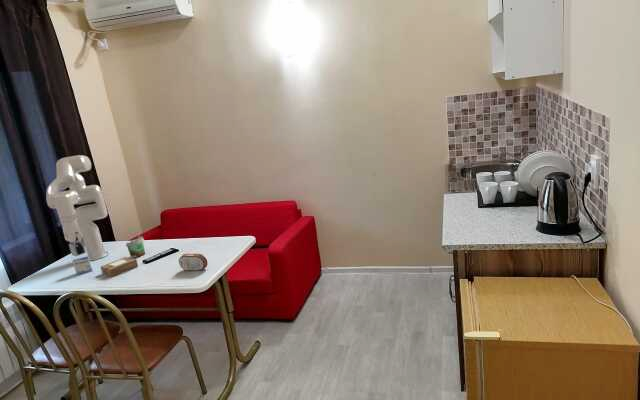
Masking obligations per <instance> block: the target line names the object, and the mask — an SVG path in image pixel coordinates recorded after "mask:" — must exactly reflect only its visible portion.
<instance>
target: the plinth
mask: <svg viewBox="0 0 640 400" xmlns="http://www.w3.org/2000/svg"><path fill="white" fill-rule="evenodd" d="M138 267H139V264H138V261H137V258H135V259H132V258H131V257H127V256H125V257H122V258H120V259H117V260H114V261H111V262H110V263H107V264H104V265H102V266H100V271H101V273H102V275H106V276H107V277H112V278H114V277H117V276H119V275H121V274H123V273H127V272H130V271H131V270H134V269H136V268H138Z"/></svg>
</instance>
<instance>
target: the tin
mask: <svg viewBox="0 0 640 400" xmlns="http://www.w3.org/2000/svg"><path fill="white" fill-rule="evenodd" d="M178 264H179V266H180V268H181V269H182V270H184V271H186V272H195V271H196V272H200V271H203V270H205V269H206V268H207V267H208V264H209V263H208V259H207V258H206V257H205V255H203V254H201V253H183V254H182V256H180V257H179V258H178Z"/></svg>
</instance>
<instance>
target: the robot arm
mask: <svg viewBox="0 0 640 400" xmlns="http://www.w3.org/2000/svg"><path fill="white" fill-rule="evenodd" d="M55 167H56V178H55V179H54V180H53V181H52V182H51V183H50V184H49V185H48V187H47V188H46V193H45V194H46V195H45V198H46V199H45V200H46V203H47V206H48V208H50V209H56V212H57V215H58V219H59V222H60V224H61V228H62V232H63V235H64V239H65V241H66V242H69V244H70V243H73V242H74V243H75V245H76V250H77V254H78V255H79V254H82V253H84V249H83V245H82V242H83V244H84V247H85V250H86V255H89V259H90V262H91V261H97V260H99V259H102V258H105V257H106V256H108V255H109V251H106V250H105V247H104V243H103V240H102V236H101V233H100V230H99V227H98V225H97V224H96V223H95V222H94V221H97V220H102V219H105V218H107V217H108V209H107V205H106V201H105V197H104V194H103V191H102V188H101V187H100V186H99V185H97V184H91V185H86V182H85V178H84V176H83V175H81V174H80V173H84V172H88V171H91V169H92V162H91V160H90V158H89V156H86V155H82V154H81V155H80V154H78V155H72V156H65V157H62V158H60V159H58V160H57V162H56V164H55ZM67 188H69V190H66V189H67ZM63 190H65V191H63ZM93 202H95V203H93ZM89 203H91V204H89ZM92 203H93V204H92ZM82 204H86V205H82ZM75 205H82V206H79V207H76V208H75ZM77 241H78V242H77ZM84 254H85V253H84ZM82 255H83V254H82ZM79 256H80V255H79Z"/></svg>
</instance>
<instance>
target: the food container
mask: <svg viewBox="0 0 640 400" xmlns="http://www.w3.org/2000/svg"><path fill="white" fill-rule="evenodd" d="M144 241H145V239H144V237H143V236H142V235H138V236H137V238H136V239H132V240H131V241H129V242H126V243H125V246H126V247H127V249H128V252H129V253H128V254H129V255H130V258H132V259H137V258H142V257H143V256H145V255H146V252H145V246H144ZM141 256H142V257H141Z"/></svg>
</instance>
